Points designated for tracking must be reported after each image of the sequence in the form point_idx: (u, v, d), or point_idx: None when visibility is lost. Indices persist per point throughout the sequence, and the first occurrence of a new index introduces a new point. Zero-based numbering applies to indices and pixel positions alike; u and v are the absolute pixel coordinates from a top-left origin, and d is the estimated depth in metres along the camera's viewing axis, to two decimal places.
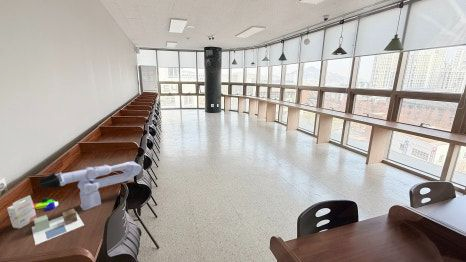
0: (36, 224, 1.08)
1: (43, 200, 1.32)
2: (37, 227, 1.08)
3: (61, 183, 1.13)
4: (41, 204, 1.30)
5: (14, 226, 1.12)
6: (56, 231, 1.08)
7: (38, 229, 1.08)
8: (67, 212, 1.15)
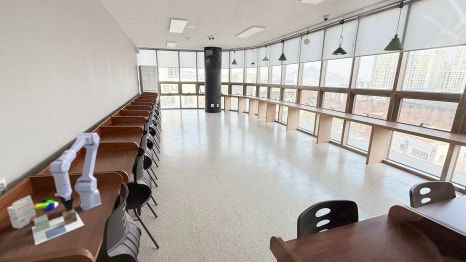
0: (36, 224, 1.08)
1: (43, 200, 1.32)
2: (37, 227, 1.08)
3: (67, 199, 1.08)
4: (41, 204, 1.30)
5: (14, 226, 1.12)
6: (56, 231, 1.08)
7: (38, 229, 1.08)
8: (67, 212, 1.15)
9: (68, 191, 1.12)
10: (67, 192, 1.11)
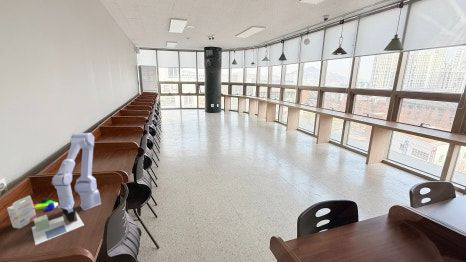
0: (36, 224, 1.08)
1: (42, 201, 1.32)
2: (37, 227, 1.08)
3: (70, 211, 1.09)
4: (40, 205, 1.29)
5: (14, 226, 1.12)
6: (56, 231, 1.08)
7: (38, 229, 1.08)
8: None
9: (71, 203, 1.13)
10: (70, 204, 1.13)
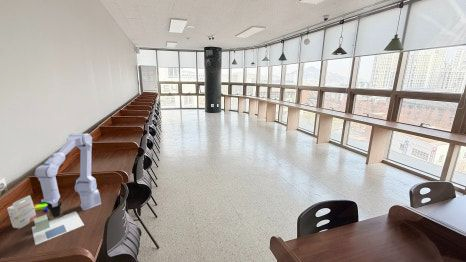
0: (36, 224, 1.08)
1: None
2: (37, 227, 1.08)
3: (54, 205, 1.01)
4: (40, 205, 1.29)
5: (14, 226, 1.12)
6: (56, 231, 1.08)
7: (38, 229, 1.08)
8: None
9: (56, 197, 1.05)
10: (54, 198, 1.05)
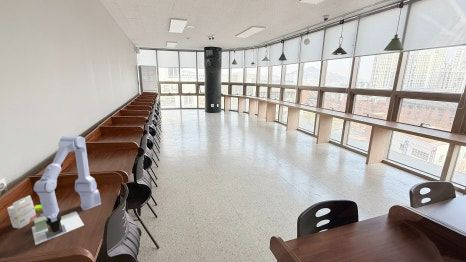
0: (36, 224, 1.08)
1: None
2: (37, 227, 1.08)
3: (53, 220, 1.01)
4: (40, 206, 1.28)
5: (14, 226, 1.12)
6: None
7: (38, 229, 1.08)
8: None
9: (55, 211, 1.05)
10: (54, 212, 1.04)
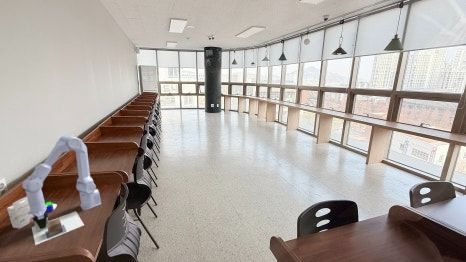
0: (36, 224, 1.08)
1: None
2: (37, 227, 1.08)
3: (40, 218, 1.04)
4: None
5: (14, 226, 1.12)
6: None
7: (38, 229, 1.08)
8: (52, 222, 1.07)
9: (42, 209, 1.08)
10: (41, 210, 1.08)
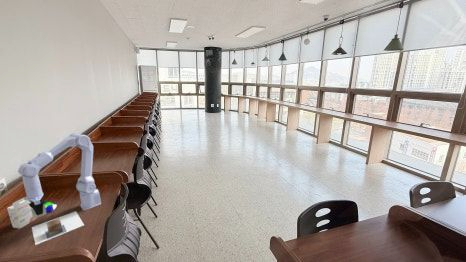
0: (32, 210, 1.06)
1: None
2: (33, 213, 1.06)
3: (36, 203, 1.03)
4: None
5: (14, 226, 1.12)
6: None
7: (34, 216, 1.06)
8: (52, 222, 1.07)
9: (38, 195, 1.06)
10: (37, 196, 1.06)
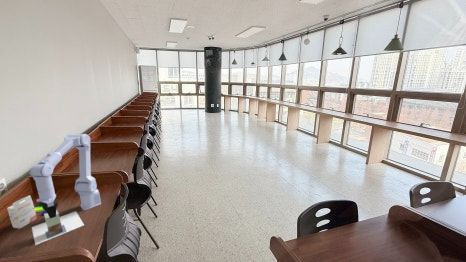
0: (47, 219, 1.03)
1: (40, 204, 1.28)
2: (48, 222, 1.03)
3: (49, 205, 0.99)
4: (38, 208, 1.26)
5: (14, 226, 1.12)
6: None
7: (49, 224, 1.04)
8: None
9: (51, 196, 1.03)
10: (50, 197, 1.02)
